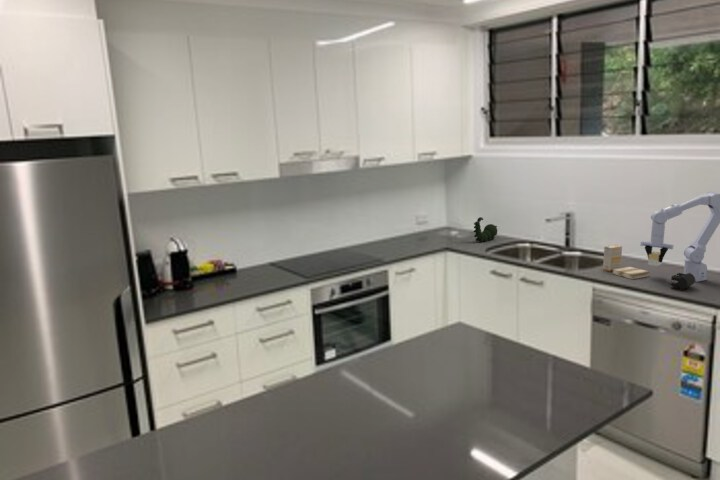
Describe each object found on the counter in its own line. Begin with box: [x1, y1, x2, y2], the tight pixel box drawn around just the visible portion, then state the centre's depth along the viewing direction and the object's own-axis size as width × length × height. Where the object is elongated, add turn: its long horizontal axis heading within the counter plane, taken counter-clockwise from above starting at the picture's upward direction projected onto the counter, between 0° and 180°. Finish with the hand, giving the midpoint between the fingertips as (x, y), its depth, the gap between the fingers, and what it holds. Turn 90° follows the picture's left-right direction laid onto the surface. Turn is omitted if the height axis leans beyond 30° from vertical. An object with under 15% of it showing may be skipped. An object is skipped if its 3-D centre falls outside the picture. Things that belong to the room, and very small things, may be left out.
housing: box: [647, 251, 663, 267], centre depth 271 cm, size 8×5×6 cm, turn 136°
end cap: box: [670, 272, 696, 291], centre depth 253 cm, size 10×7×7 cm
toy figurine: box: [473, 217, 498, 243], centre depth 375 cm, size 9×19×25 cm
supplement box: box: [602, 244, 623, 272], centre depth 289 cm, size 8×5×13 cm, turn 111°
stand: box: [612, 266, 650, 280], centre depth 278 cm, size 12×12×2 cm
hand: (655, 261), depth 272 cm, fingers closed on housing, 5 cm apart
